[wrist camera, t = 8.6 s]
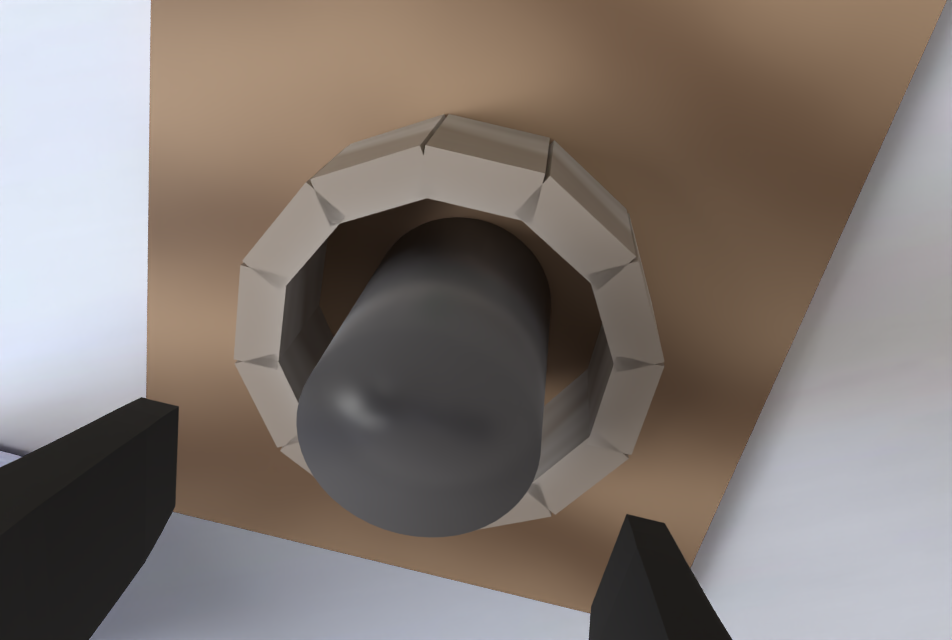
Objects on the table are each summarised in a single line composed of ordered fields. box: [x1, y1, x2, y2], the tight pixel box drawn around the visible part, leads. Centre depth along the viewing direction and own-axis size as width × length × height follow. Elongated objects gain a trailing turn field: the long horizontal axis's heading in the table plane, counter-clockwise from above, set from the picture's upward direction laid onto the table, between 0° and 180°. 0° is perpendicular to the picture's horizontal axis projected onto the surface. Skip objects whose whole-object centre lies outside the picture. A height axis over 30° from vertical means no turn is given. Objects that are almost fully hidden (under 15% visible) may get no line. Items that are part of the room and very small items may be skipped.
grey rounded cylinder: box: [296, 217, 551, 538], centre depth 16 cm, size 4×4×6 cm
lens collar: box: [146, 0, 947, 613], centre depth 18 cm, size 18×16×4 cm
